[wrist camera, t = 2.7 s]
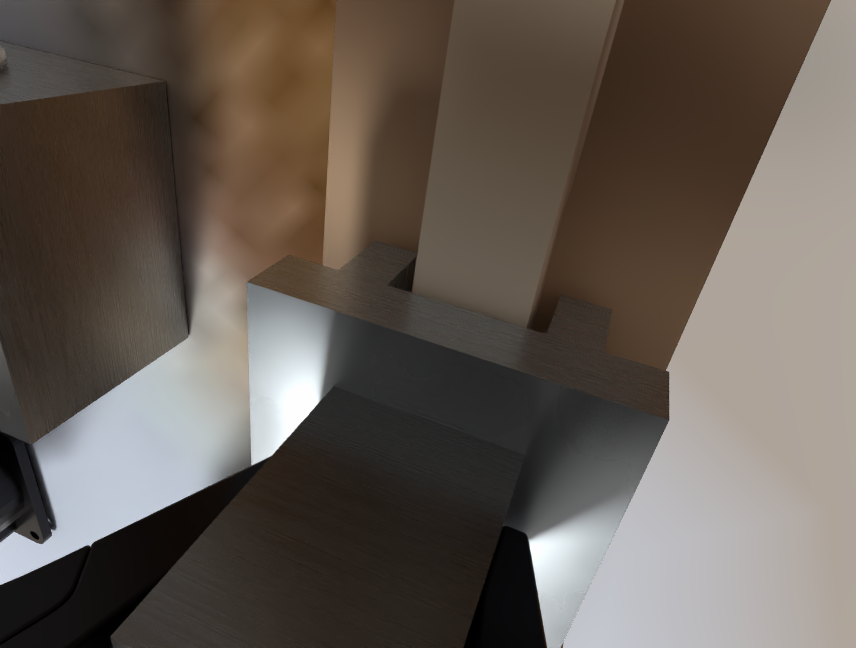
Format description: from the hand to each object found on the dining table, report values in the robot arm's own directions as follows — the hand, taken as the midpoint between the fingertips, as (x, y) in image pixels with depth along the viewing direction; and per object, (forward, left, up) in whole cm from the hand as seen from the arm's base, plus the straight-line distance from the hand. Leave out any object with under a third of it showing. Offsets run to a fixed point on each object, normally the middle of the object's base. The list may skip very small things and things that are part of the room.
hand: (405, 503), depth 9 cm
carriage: (0, 0, -3) cm, 3 cm away
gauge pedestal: (+1, +12, -5) cm, 13 cm away
